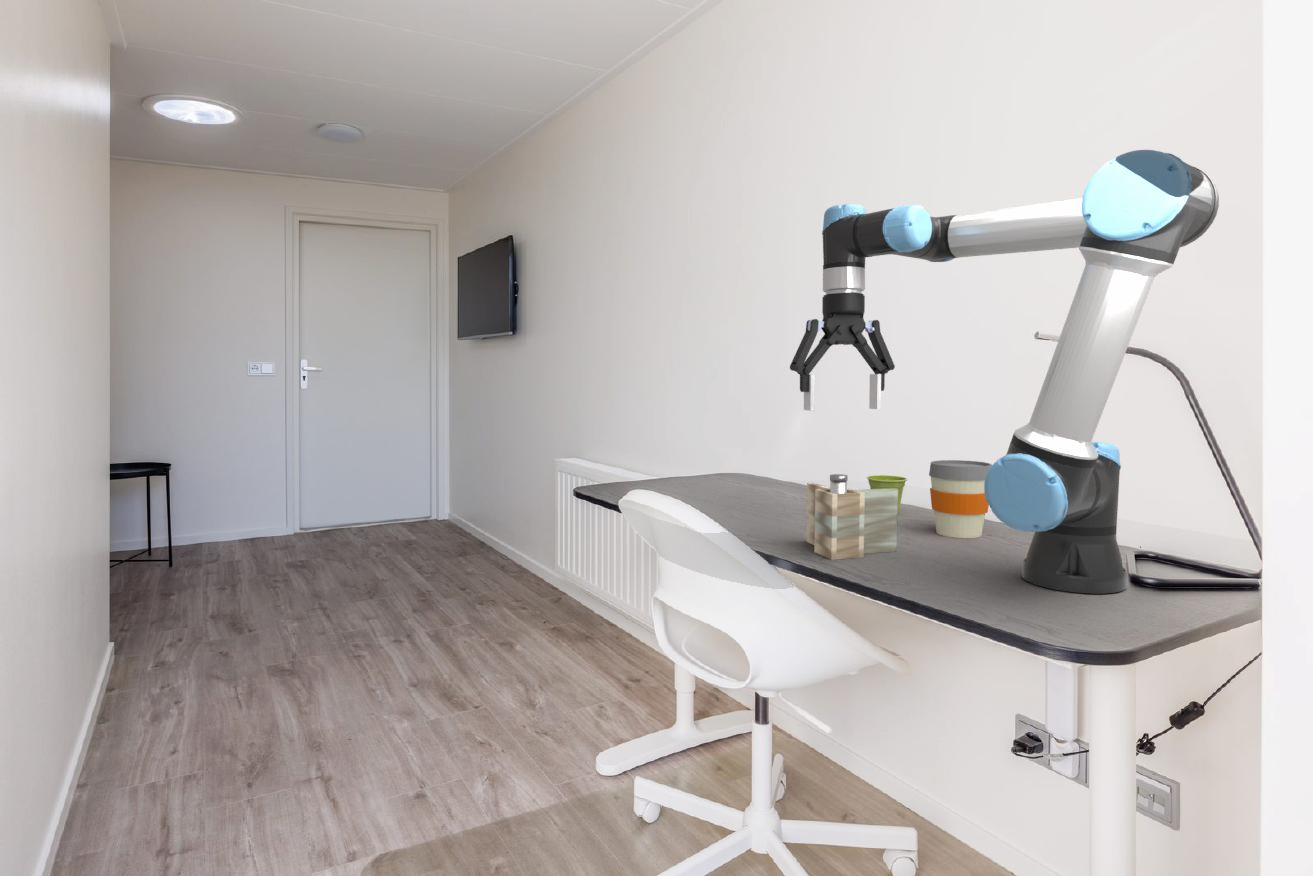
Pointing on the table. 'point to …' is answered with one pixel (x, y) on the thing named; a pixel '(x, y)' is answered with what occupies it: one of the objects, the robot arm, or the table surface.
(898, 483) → the plant pot
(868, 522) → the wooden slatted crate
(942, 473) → the reusable coffee cup
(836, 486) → the hinge pin
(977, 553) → the table surface
